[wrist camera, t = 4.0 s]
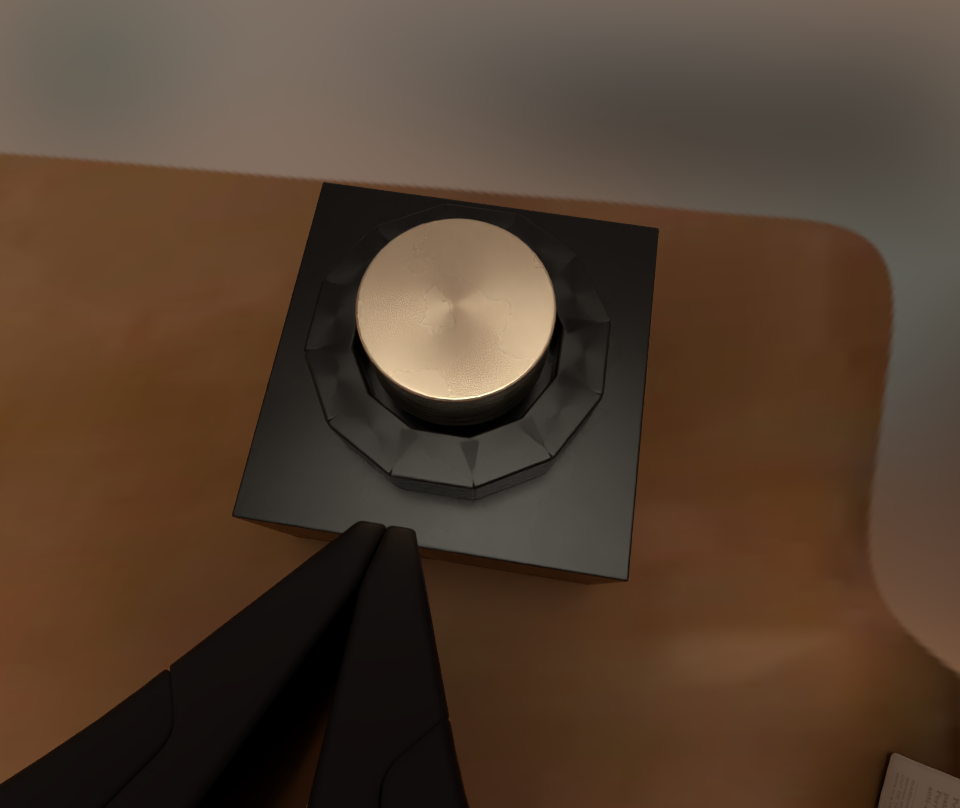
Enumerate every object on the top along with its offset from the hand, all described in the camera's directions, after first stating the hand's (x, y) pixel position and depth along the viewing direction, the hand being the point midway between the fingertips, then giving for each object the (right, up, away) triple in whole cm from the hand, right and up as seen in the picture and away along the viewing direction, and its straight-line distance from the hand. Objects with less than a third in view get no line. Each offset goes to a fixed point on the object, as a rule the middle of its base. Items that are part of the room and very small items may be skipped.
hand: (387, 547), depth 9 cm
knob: (+1, +4, +6) cm, 7 cm away
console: (+1, +2, +13) cm, 13 cm away
